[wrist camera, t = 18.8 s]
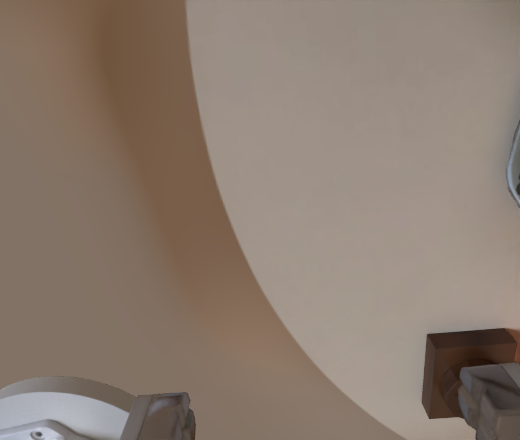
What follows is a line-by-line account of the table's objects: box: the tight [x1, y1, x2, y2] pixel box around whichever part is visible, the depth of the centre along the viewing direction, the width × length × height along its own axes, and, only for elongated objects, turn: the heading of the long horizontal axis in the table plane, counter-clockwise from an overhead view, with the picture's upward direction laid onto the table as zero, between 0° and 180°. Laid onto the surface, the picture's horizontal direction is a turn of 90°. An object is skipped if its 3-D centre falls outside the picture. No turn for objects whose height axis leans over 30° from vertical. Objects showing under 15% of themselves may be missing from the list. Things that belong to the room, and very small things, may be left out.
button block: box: [422, 328, 517, 419], centre depth 40 cm, size 8×10×4 cm
